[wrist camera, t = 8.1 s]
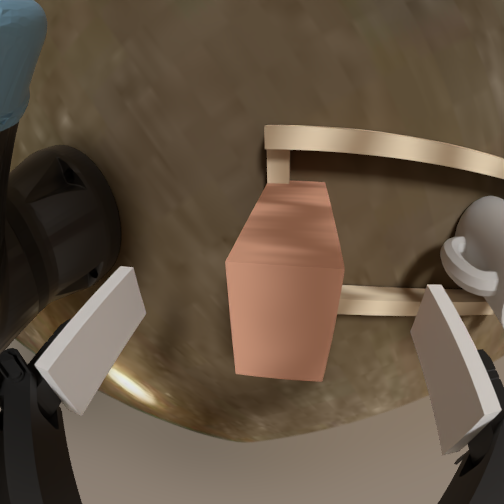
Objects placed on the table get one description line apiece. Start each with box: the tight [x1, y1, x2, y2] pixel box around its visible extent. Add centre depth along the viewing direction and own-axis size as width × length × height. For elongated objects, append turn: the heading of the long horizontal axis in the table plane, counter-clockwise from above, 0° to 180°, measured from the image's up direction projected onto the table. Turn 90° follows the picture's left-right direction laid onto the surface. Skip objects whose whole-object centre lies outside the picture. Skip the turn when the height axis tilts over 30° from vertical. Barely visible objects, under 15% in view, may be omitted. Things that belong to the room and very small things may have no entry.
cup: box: [440, 196, 504, 328], centre depth 15 cm, size 7×10×9 cm
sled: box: [225, 125, 504, 382], centre depth 14 cm, size 24×14×12 cm, turn 92°
